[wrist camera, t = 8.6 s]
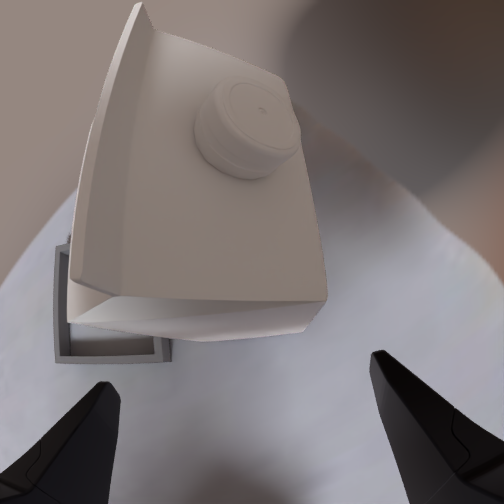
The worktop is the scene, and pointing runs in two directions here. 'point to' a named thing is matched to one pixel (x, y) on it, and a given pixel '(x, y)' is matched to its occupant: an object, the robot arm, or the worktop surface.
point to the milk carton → (193, 199)
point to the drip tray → (63, 327)
